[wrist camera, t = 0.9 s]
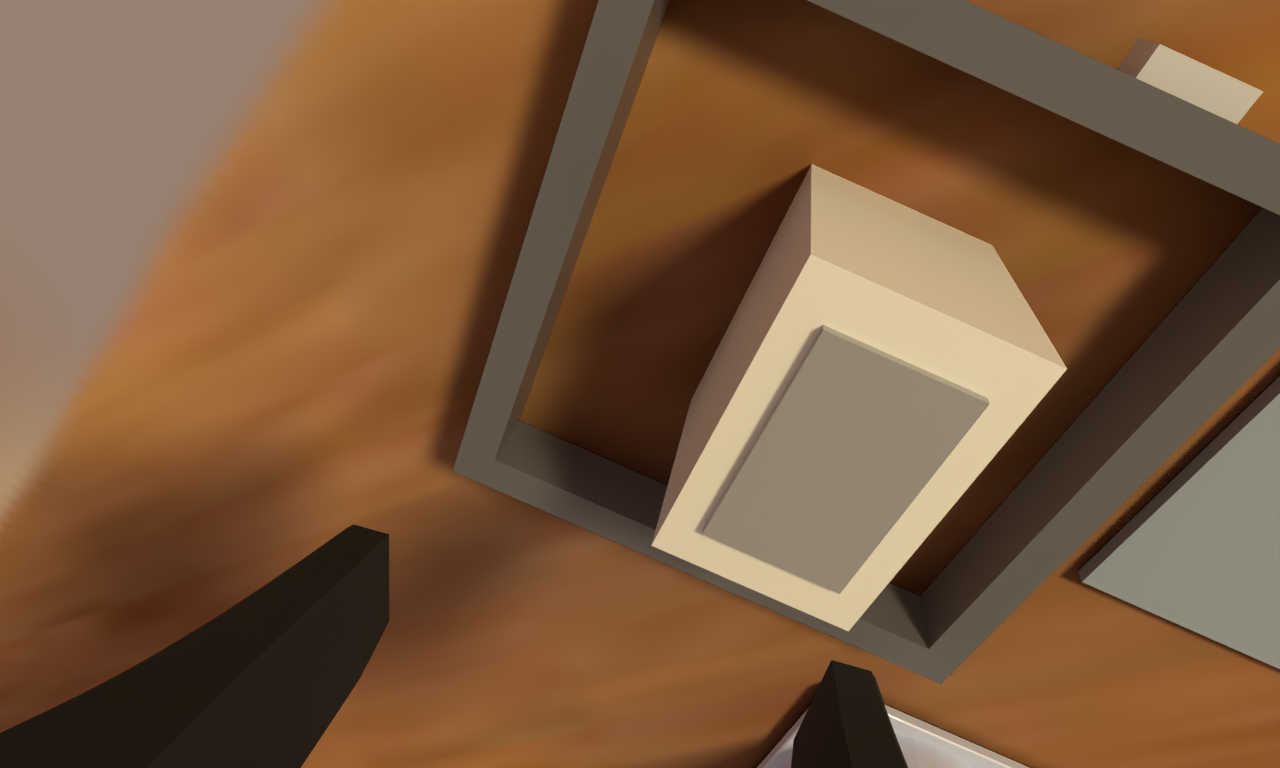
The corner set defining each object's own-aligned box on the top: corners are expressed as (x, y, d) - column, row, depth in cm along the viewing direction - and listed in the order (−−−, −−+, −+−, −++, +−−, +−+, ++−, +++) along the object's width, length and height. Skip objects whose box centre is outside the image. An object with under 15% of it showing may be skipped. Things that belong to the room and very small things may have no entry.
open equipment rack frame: (1377, 150, 15) (1451, 176, 13) (931, 629, 23) (941, 683, 21) (675, -172, 14) (656, -188, 13) (479, 431, 23) (452, 471, 21)
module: (991, 244, 17) (1070, 374, 12) (839, 464, 21) (848, 638, 16) (811, 163, 17) (810, 259, 12) (691, 398, 21) (649, 552, 15)
